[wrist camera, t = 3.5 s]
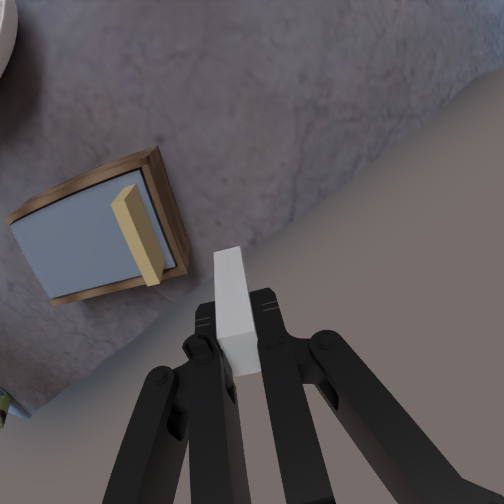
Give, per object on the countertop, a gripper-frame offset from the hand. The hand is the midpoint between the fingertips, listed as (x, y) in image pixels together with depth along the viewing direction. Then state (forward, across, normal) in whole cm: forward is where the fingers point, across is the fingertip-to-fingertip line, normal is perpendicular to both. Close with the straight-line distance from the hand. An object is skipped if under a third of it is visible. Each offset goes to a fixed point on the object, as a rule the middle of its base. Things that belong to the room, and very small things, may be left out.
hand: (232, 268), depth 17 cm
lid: (+11, -15, 0) cm, 19 cm away
